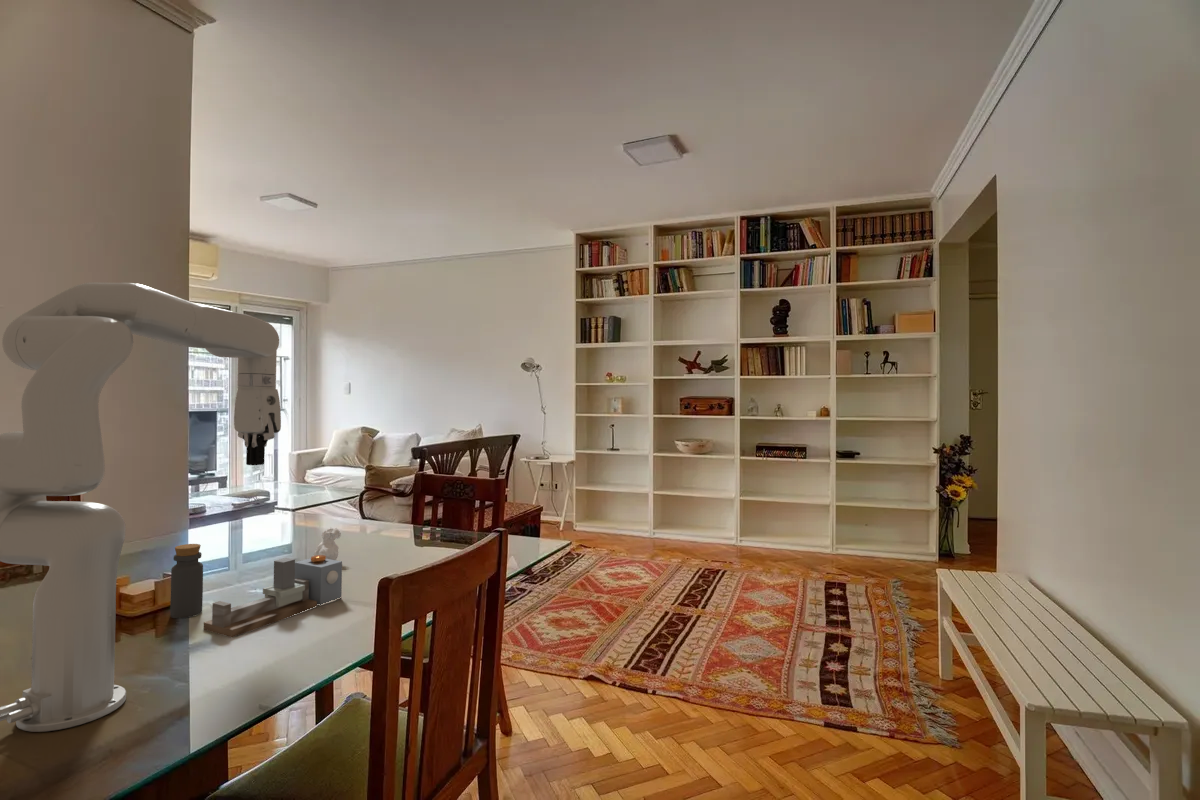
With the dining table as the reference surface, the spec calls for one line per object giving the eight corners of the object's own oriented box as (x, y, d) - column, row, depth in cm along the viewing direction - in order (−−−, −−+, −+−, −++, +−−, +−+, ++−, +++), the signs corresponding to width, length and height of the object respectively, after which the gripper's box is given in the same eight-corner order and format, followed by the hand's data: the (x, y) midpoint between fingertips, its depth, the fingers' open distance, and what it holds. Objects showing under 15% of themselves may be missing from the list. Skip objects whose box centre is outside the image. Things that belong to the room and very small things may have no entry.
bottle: (186, 619, 130) (187, 550, 130) (163, 617, 131) (164, 548, 131) (208, 610, 136) (210, 543, 136) (186, 608, 137) (188, 542, 137)
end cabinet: (321, 606, 140) (322, 567, 140) (293, 600, 144) (294, 562, 144) (342, 599, 145) (343, 561, 145) (314, 593, 149) (315, 556, 149)
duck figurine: (328, 575, 172) (355, 542, 175) (305, 562, 169) (333, 527, 172) (324, 565, 182) (349, 534, 185) (302, 552, 179) (328, 520, 182)
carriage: (280, 607, 132) (281, 564, 132) (262, 603, 135) (263, 561, 135) (304, 599, 138) (305, 558, 138) (286, 595, 140) (287, 555, 140)
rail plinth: (231, 637, 121) (232, 607, 121) (203, 629, 125) (204, 601, 125) (316, 607, 139) (317, 581, 139) (289, 601, 143) (290, 576, 143)
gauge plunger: (316, 582, 142) (317, 559, 142) (307, 580, 144) (307, 557, 144) (328, 579, 145) (328, 556, 145) (318, 577, 147) (319, 554, 147)
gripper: (294, 383, 135) (293, 465, 135) (250, 383, 142) (249, 461, 141) (263, 382, 128) (262, 468, 128) (218, 382, 135) (217, 464, 135)
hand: (255, 464), depth 135 cm, fingers closed
